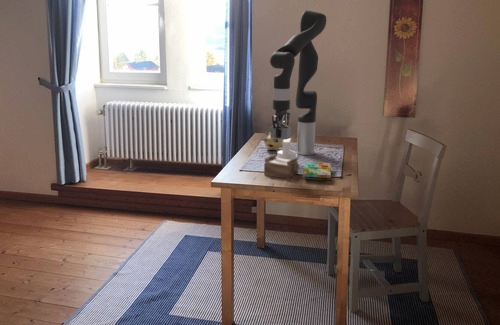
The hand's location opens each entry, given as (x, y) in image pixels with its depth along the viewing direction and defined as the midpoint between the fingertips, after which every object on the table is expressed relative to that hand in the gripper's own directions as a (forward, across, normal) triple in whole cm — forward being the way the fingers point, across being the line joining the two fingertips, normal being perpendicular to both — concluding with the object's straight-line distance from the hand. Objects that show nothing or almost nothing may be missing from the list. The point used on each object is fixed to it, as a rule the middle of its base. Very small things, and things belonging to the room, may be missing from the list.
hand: (280, 136), depth 215 cm
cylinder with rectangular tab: (+18, +17, +5) cm, 25 cm away
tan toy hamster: (+17, +39, +23) cm, 48 cm away
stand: (+17, 0, 0) cm, 17 cm away
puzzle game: (+18, +6, -16) cm, 25 cm away
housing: (+1, 0, 0) cm, 1 cm away
